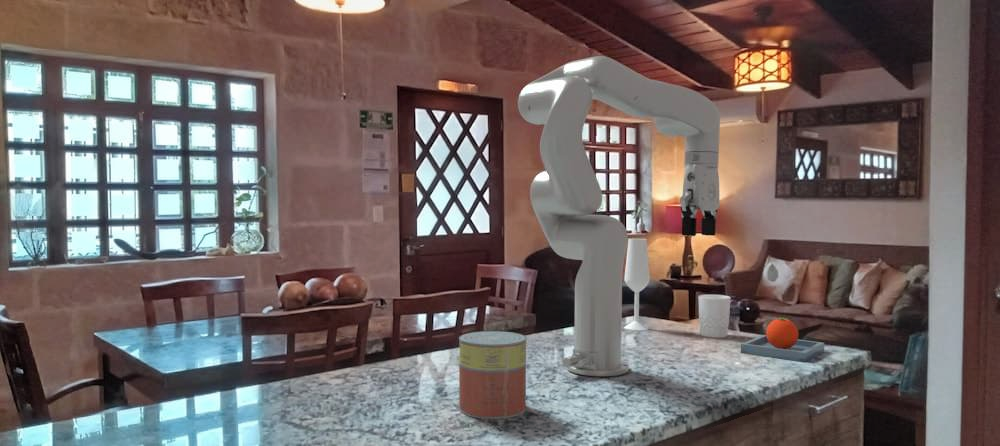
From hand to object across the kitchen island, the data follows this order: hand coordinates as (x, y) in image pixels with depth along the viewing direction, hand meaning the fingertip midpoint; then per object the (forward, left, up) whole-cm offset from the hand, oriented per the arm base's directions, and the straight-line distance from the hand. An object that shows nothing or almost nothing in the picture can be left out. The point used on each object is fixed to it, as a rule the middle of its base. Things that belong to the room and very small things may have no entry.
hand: (698, 235), depth 164 cm
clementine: (+11, -16, -26) cm, 32 cm away
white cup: (+19, +4, -27) cm, 33 cm away
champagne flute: (+15, +24, -27) cm, 39 cm away
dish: (+11, -16, -27) cm, 33 cm away
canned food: (-65, +6, -27) cm, 71 cm away
